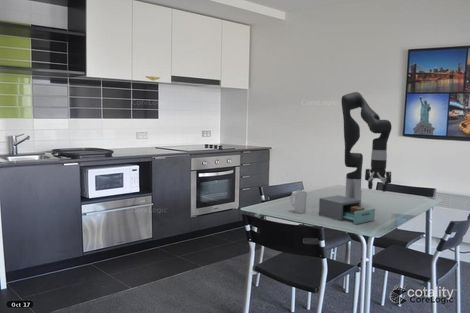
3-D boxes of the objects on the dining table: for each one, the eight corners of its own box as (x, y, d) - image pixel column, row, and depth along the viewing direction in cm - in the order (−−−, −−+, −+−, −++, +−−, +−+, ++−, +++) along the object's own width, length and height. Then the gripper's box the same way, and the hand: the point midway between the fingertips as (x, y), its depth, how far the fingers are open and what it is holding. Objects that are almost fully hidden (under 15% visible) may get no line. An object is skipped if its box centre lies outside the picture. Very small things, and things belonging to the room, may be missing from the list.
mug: (308, 212, 248) (308, 191, 247) (302, 214, 243) (303, 193, 241) (293, 209, 254) (293, 189, 253) (287, 211, 249) (287, 191, 247)
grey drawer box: (337, 211, 251) (338, 195, 250) (359, 216, 238) (360, 200, 237) (318, 214, 242) (319, 198, 241) (341, 220, 229) (341, 203, 228)
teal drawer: (350, 214, 243) (351, 203, 242) (375, 220, 230) (375, 208, 229) (331, 217, 234) (332, 206, 233) (356, 224, 221) (356, 212, 220)
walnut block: (364, 217, 229) (364, 207, 229) (358, 218, 226) (358, 209, 226) (356, 215, 233) (356, 206, 233) (350, 216, 230) (351, 207, 230)
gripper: (395, 159, 213) (393, 191, 215) (371, 157, 225) (370, 187, 226) (386, 160, 209) (384, 193, 210) (362, 157, 221) (361, 188, 222)
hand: (377, 190), depth 218 cm, fingers open, 8 cm apart
